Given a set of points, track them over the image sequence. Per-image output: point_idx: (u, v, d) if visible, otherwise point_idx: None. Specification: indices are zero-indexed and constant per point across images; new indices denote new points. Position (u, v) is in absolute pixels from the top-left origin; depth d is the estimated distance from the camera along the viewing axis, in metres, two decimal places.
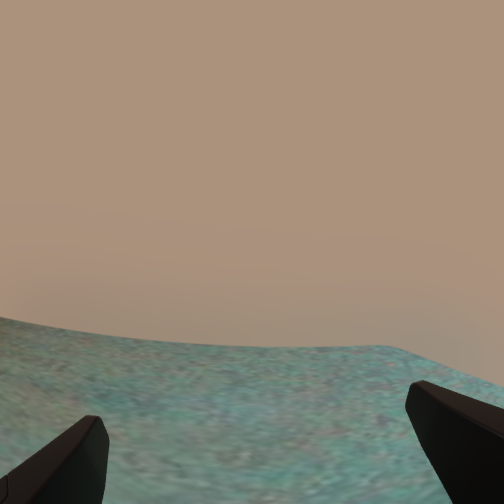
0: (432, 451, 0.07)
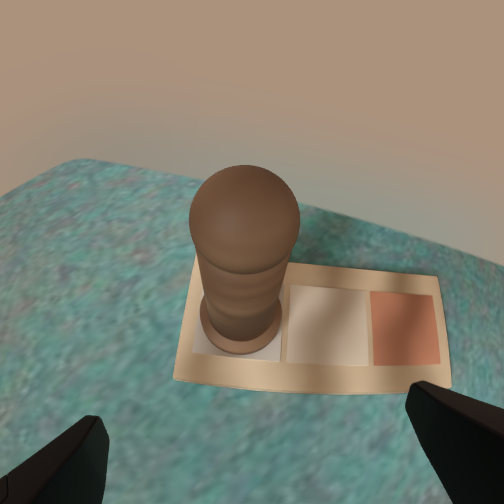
0: (432, 451, 0.07)
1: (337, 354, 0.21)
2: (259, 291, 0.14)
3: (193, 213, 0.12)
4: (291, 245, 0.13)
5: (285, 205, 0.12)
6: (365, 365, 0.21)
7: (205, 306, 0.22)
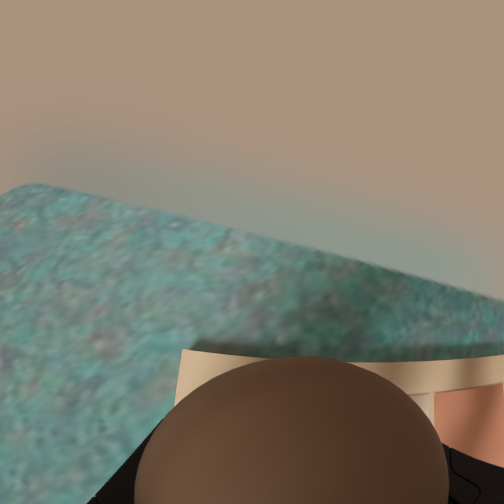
0: None
1: None
2: None
3: None
4: None
5: None
6: None
7: None
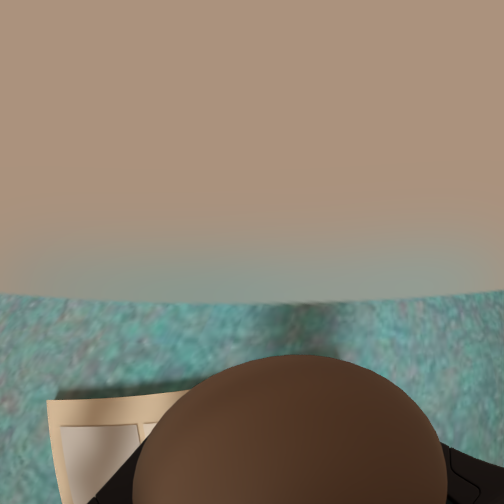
0: None
1: None
2: None
3: None
4: None
5: None
6: None
7: None
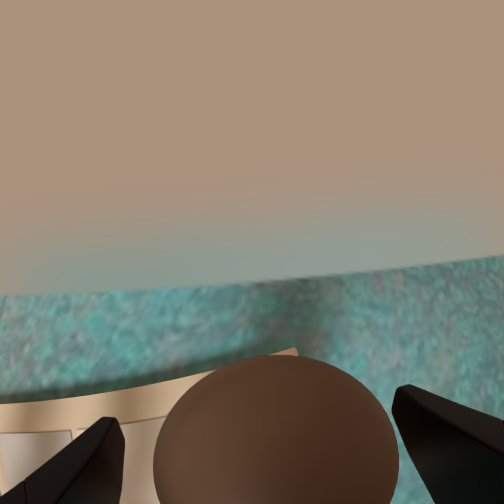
0: (418, 457, 0.06)
1: None
2: None
3: (160, 496, 0.04)
4: None
5: (385, 495, 0.03)
6: None
7: None
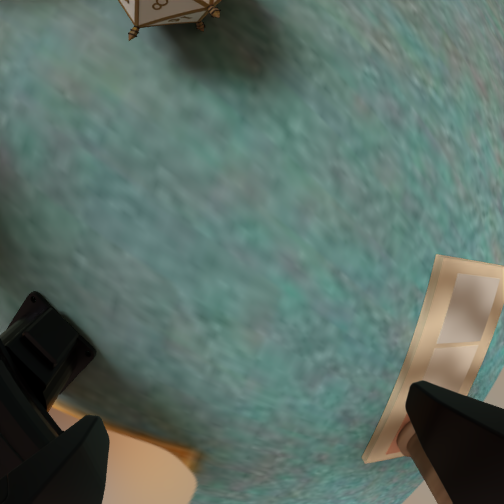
0: (432, 451, 0.07)
1: None
2: (441, 495, 0.16)
3: None
4: None
5: None
6: None
7: None
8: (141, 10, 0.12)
